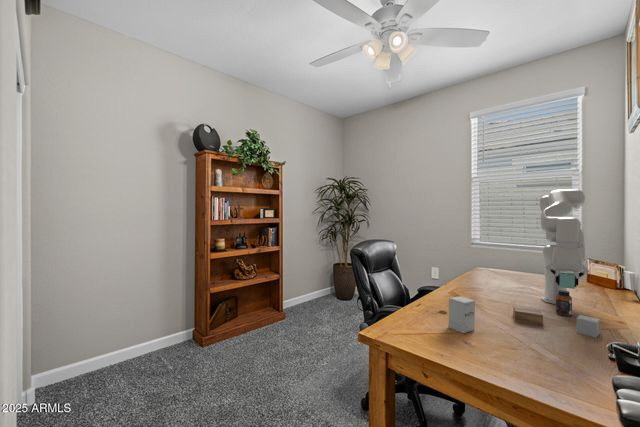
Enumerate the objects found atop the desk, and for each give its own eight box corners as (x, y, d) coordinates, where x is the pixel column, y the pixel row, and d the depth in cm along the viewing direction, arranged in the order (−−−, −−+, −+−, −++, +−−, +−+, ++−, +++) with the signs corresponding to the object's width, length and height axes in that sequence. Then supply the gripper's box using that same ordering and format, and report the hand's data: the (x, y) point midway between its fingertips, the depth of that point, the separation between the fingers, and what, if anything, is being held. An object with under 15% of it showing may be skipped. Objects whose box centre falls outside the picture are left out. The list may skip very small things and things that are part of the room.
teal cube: (558, 284, 129) (559, 271, 129) (573, 286, 126) (573, 273, 126) (559, 287, 125) (559, 273, 125) (574, 289, 122) (574, 275, 122)
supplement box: (463, 334, 113) (464, 302, 113) (447, 327, 120) (448, 297, 120) (475, 330, 117) (475, 300, 117) (459, 324, 123) (459, 295, 123)
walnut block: (513, 315, 136) (513, 304, 136) (539, 319, 130) (539, 308, 130) (514, 321, 127) (515, 310, 127) (542, 326, 122) (542, 315, 122)
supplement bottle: (575, 317, 133) (575, 293, 132) (560, 316, 134) (560, 292, 134) (566, 312, 138) (567, 289, 138) (553, 311, 140) (553, 289, 140)
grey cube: (579, 328, 119) (579, 314, 119) (599, 333, 114) (599, 319, 114) (576, 332, 115) (576, 318, 115) (596, 337, 111) (596, 322, 111)
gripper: (591, 245, 123) (591, 286, 124) (542, 243, 134) (542, 281, 134) (594, 247, 118) (594, 290, 118) (543, 244, 128) (542, 284, 128)
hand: (566, 285), depth 126 cm, fingers closed on teal cube, 5 cm apart
